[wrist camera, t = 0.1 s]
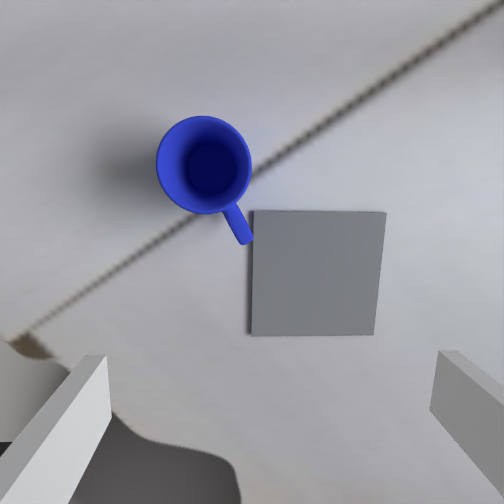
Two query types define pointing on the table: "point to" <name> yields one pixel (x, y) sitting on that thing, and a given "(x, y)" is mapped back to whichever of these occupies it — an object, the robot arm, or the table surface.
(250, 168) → the mug
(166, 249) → the table surface
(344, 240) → the coaster
